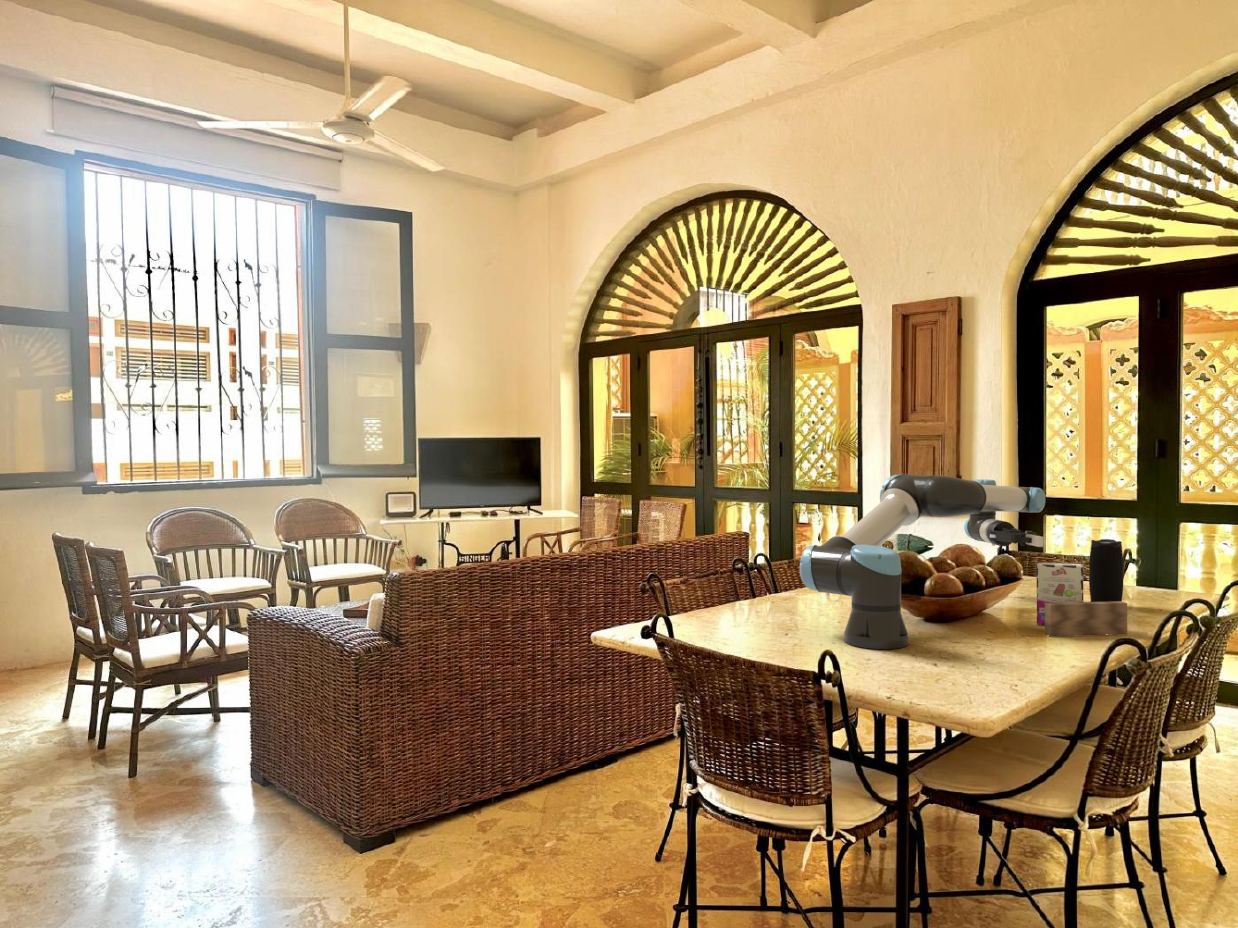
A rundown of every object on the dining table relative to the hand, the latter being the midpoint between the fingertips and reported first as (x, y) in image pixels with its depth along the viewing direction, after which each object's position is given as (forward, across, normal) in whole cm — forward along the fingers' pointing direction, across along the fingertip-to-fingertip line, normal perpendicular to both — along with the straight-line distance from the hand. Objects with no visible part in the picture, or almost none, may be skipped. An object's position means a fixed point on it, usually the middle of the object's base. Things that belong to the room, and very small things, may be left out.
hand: (1040, 541), depth 239 cm
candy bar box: (+10, 0, -21) cm, 23 cm away
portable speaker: (-12, -27, -21) cm, 37 cm away
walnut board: (+21, 0, -21) cm, 30 cm away
